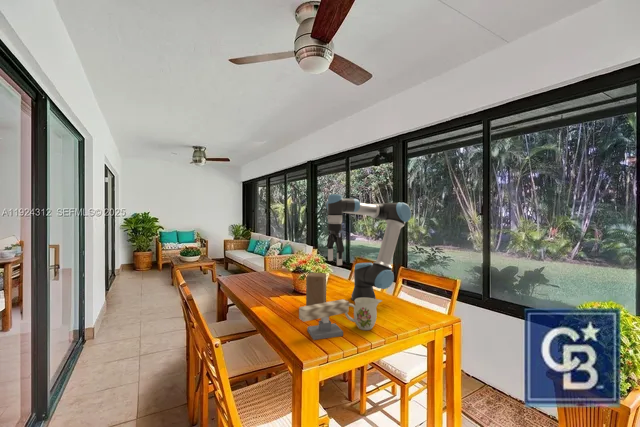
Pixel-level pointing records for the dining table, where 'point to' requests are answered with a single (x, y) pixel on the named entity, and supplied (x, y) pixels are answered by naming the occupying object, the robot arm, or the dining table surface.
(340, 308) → the batten
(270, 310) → the dining table surface
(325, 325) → the fulcrum
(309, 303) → the wooden block
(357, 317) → the floral ceramic pitcher
